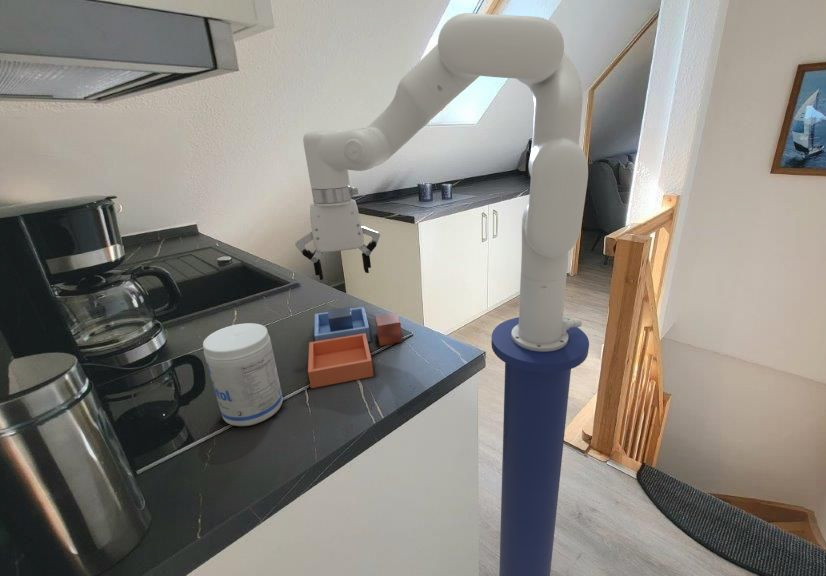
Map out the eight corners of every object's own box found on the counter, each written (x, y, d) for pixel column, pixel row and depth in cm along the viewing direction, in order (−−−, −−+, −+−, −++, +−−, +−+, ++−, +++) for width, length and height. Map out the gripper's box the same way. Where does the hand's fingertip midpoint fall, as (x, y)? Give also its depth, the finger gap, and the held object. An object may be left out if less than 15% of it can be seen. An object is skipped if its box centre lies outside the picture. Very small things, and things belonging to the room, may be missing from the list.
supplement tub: (211, 418, 68) (186, 342, 63) (259, 387, 76) (241, 317, 71) (249, 436, 64) (226, 357, 59) (296, 401, 72) (280, 328, 66)
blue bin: (365, 319, 102) (363, 306, 100) (370, 341, 92) (369, 327, 90) (317, 327, 98) (314, 313, 97) (316, 350, 88) (314, 336, 87)
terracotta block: (398, 331, 96) (396, 312, 94) (402, 342, 91) (400, 322, 89) (377, 335, 94) (374, 316, 92) (379, 345, 90) (377, 325, 88)
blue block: (352, 325, 98) (350, 306, 96) (354, 334, 93) (351, 315, 91) (331, 328, 96) (328, 309, 94) (331, 338, 92) (328, 318, 90)
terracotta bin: (367, 347, 89) (365, 333, 88) (373, 376, 79) (371, 360, 78) (311, 357, 86) (309, 342, 85) (310, 388, 76) (307, 372, 74)
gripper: (372, 189, 88) (380, 263, 95) (287, 196, 83) (302, 275, 89) (377, 194, 82) (386, 274, 88) (286, 202, 76) (302, 286, 83)
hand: (344, 274), depth 89 cm, fingers open, 9 cm apart
